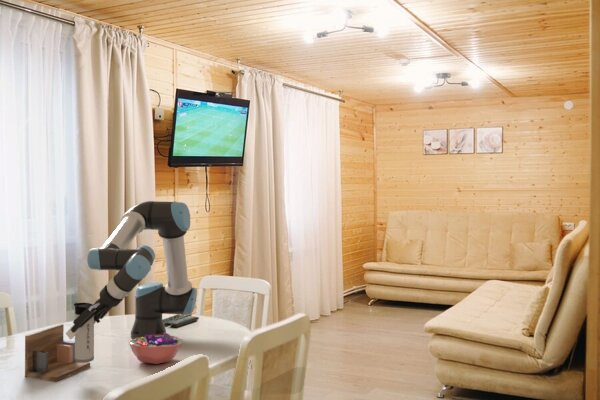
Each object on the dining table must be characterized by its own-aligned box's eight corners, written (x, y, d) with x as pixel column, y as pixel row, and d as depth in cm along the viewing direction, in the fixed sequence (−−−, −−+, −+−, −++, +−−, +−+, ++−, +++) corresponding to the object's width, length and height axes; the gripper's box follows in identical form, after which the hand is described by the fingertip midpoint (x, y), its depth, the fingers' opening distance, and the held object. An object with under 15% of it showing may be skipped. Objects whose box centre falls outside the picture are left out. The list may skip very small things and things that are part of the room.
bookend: (48, 371, 217) (48, 352, 217) (41, 374, 214) (41, 354, 214) (35, 369, 219) (35, 350, 219) (27, 372, 216) (28, 352, 216)
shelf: (90, 366, 229) (90, 327, 228) (56, 381, 212) (56, 340, 211) (60, 361, 233) (60, 324, 233) (24, 376, 216) (25, 335, 216)
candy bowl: (136, 354, 245) (136, 326, 244) (186, 356, 244) (186, 328, 244) (122, 368, 228) (123, 338, 228) (176, 370, 228) (177, 339, 227)
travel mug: (76, 357, 216) (76, 301, 215) (95, 357, 217) (95, 301, 216) (71, 363, 210) (71, 305, 209) (91, 363, 211) (91, 305, 209)
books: (75, 360, 231) (76, 341, 231) (69, 363, 228) (69, 344, 227) (63, 358, 233) (63, 340, 233) (56, 361, 230) (56, 342, 229)
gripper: (103, 306, 198) (62, 349, 205) (138, 294, 216) (99, 334, 223) (90, 288, 200) (49, 332, 206) (125, 278, 218) (87, 318, 224)
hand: (75, 333), depth 214 cm, fingers closed on travel mug, 6 cm apart
